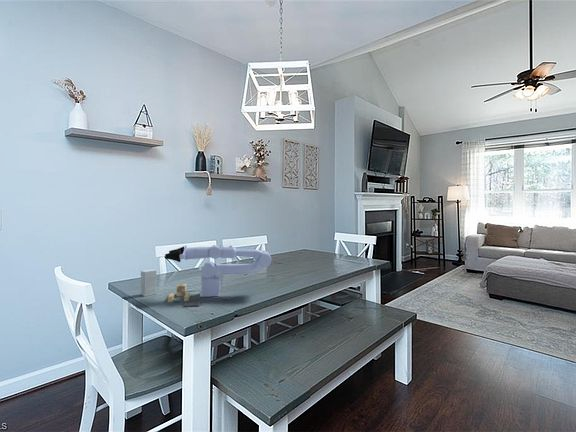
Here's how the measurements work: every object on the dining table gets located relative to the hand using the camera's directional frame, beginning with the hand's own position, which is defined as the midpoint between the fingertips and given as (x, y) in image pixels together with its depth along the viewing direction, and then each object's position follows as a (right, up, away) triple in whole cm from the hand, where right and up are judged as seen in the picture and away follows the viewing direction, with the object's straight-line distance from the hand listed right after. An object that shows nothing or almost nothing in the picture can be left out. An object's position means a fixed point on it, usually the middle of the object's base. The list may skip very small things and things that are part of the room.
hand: (167, 254), depth 143 cm
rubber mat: (+16, -21, -11) cm, 28 cm away
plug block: (+6, -20, +2) cm, 21 cm away
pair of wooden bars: (+7, -21, -5) cm, 22 cm away
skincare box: (-10, -20, +2) cm, 23 cm away
